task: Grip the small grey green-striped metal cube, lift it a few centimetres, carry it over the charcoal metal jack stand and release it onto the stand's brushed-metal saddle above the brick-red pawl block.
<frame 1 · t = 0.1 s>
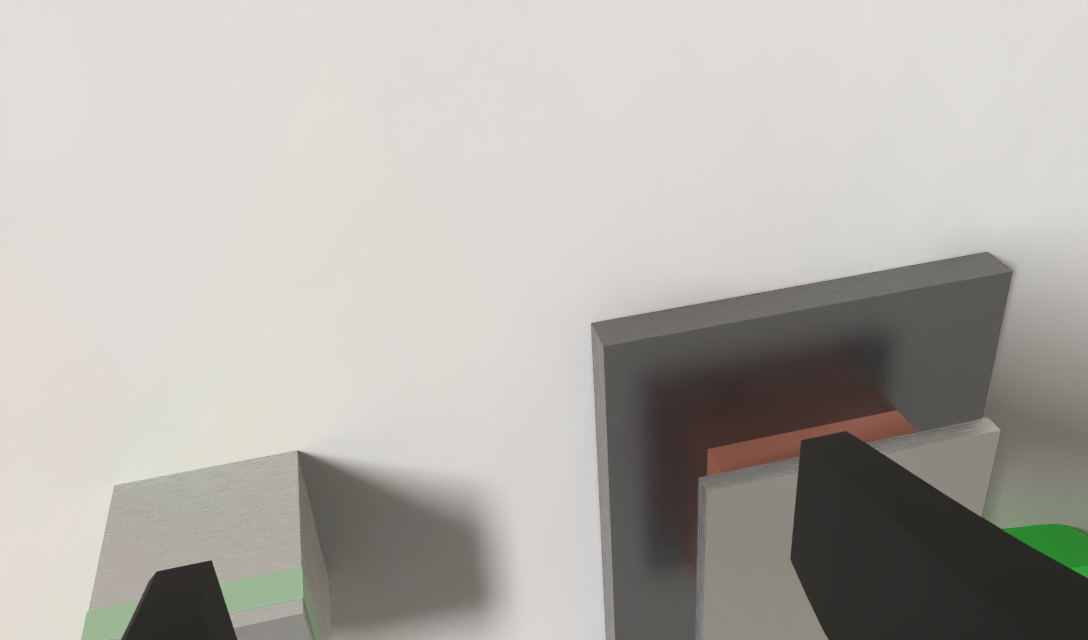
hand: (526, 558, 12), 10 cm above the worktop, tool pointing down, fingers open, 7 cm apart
green-striped metal cube: (227, 532, 24), on the worktop
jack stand: (780, 481, 27), on the worktop
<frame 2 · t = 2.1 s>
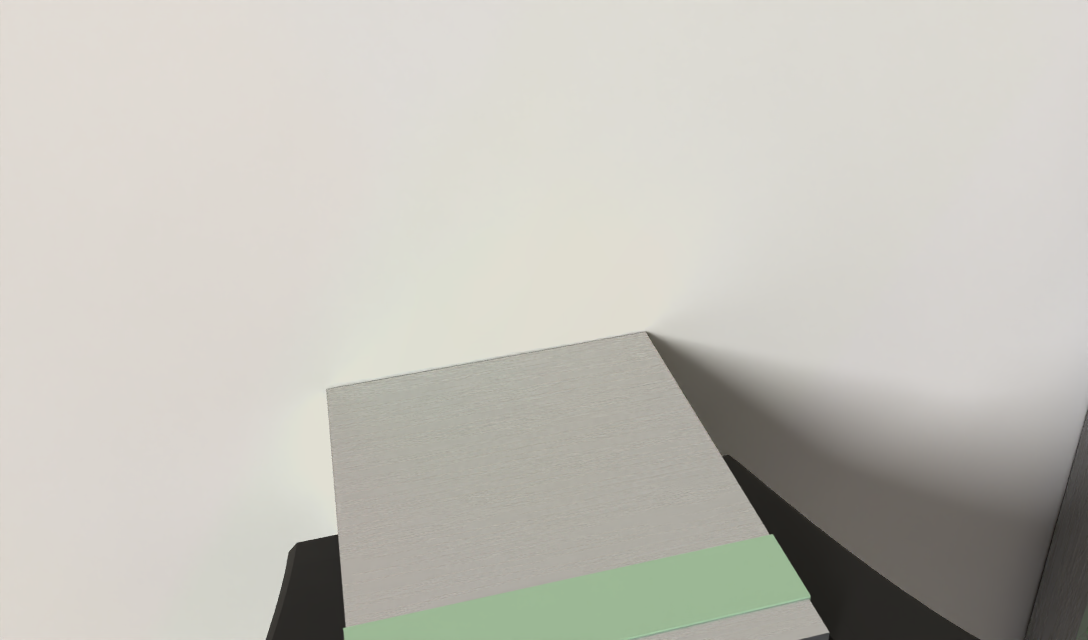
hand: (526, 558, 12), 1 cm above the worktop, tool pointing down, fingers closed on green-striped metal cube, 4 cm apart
green-striped metal cube: (503, 484, 13), on the worktop, touching gripper
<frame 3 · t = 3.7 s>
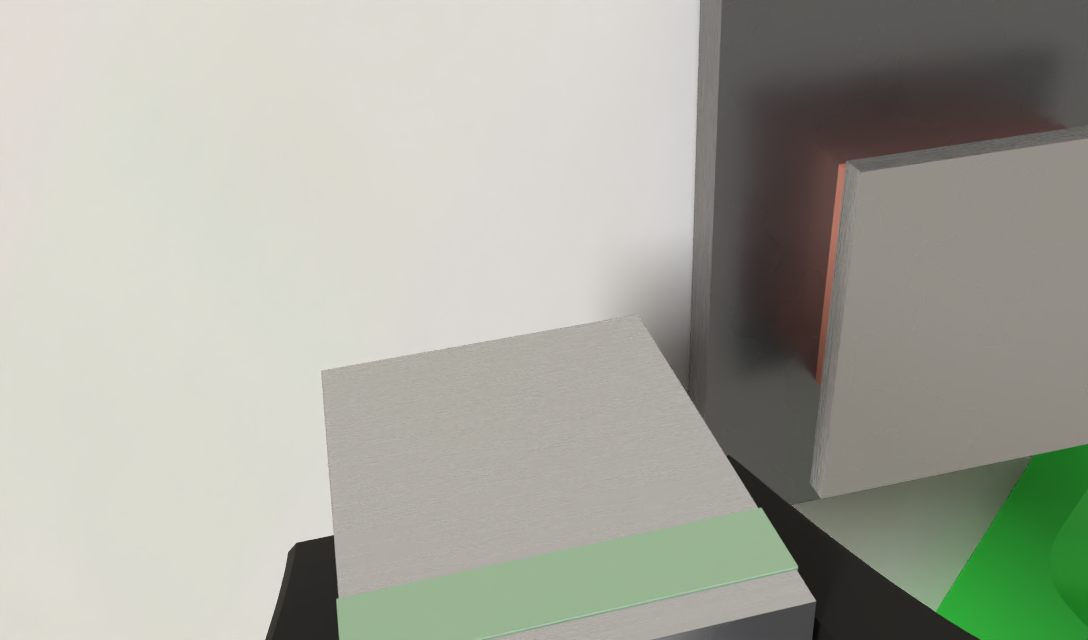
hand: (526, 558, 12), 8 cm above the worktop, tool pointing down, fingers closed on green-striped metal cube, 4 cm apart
green-striped metal cube: (497, 466, 14), point 7 cm above the worktop, touching gripper
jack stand: (912, 239, 22), on the worktop
mechanical part: (1075, 506, 28), on the worktop
when the fingers open (6 cm above the worktop, at t = 5.4 s): green-striped metal cube stays where it is, resting on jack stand.
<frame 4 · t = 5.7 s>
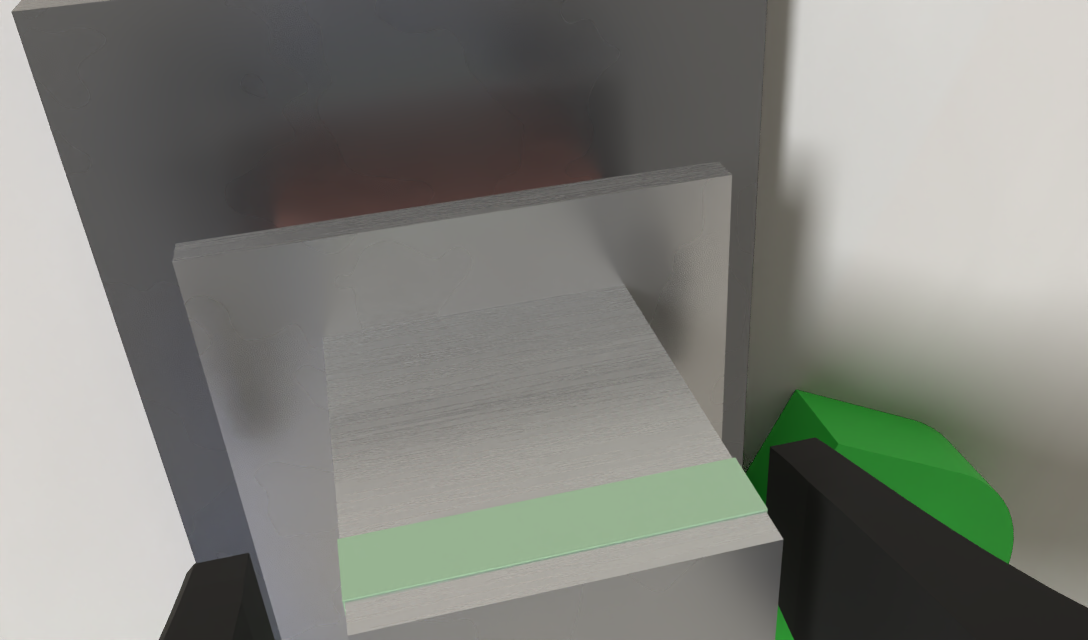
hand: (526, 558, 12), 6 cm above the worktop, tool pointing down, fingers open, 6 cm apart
green-striped metal cube: (491, 431, 14), point 3 cm above the worktop, touching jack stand
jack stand: (453, 317, 17), on the worktop
mechanical part: (766, 612, 24), on the worktop, touching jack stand
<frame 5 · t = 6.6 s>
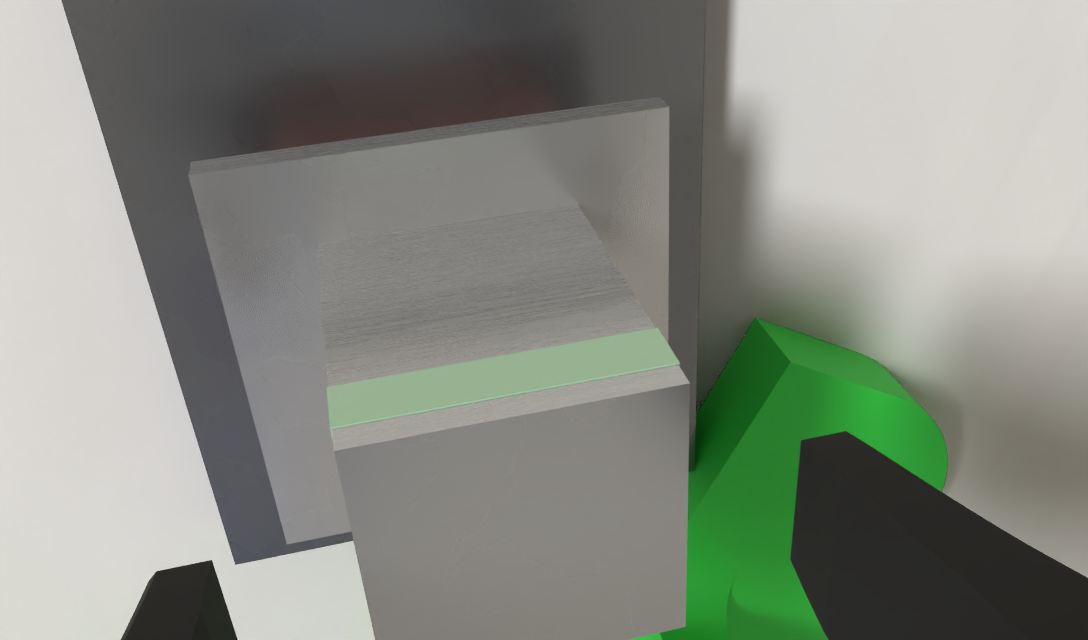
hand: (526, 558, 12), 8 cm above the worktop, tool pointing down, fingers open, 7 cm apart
green-striped metal cube: (463, 335, 16), point 3 cm above the worktop, touching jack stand
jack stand: (434, 247, 19), on the worktop
mechanical part: (723, 534, 26), on the worktop, touching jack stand
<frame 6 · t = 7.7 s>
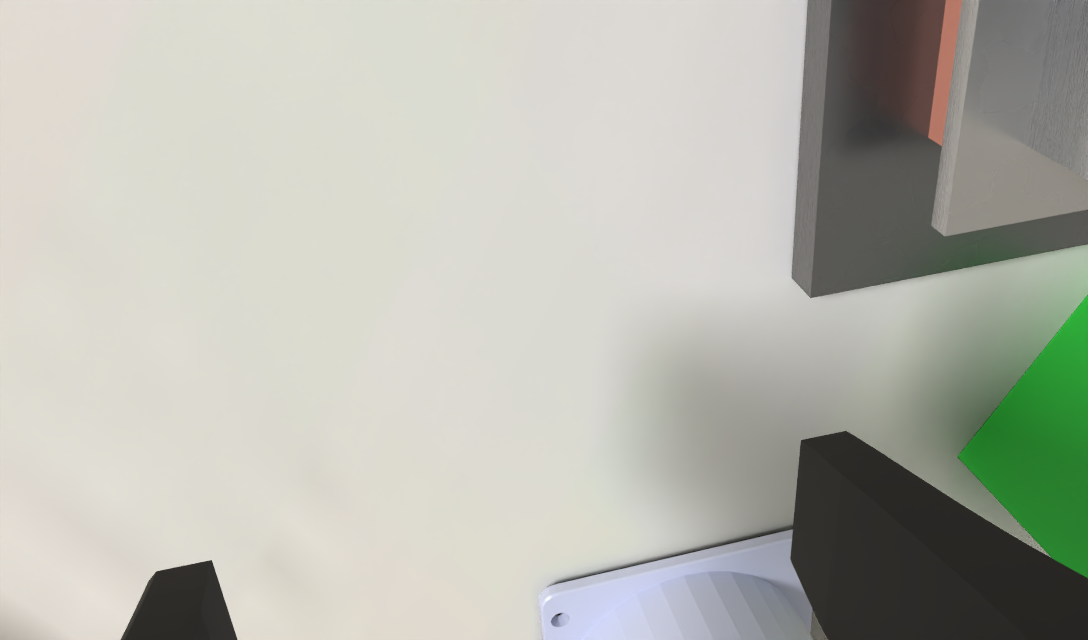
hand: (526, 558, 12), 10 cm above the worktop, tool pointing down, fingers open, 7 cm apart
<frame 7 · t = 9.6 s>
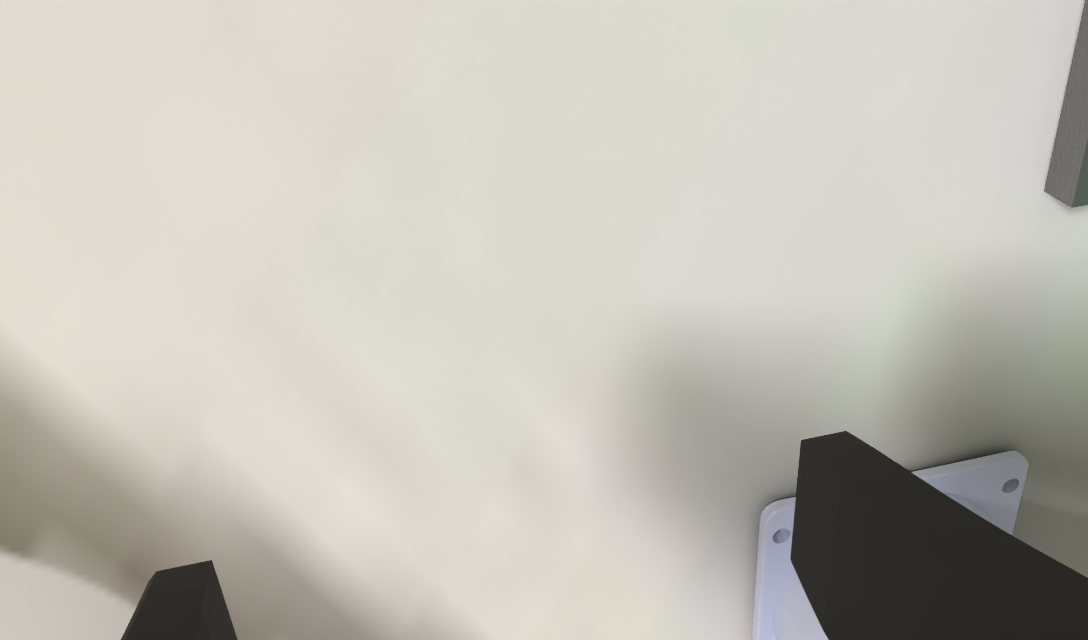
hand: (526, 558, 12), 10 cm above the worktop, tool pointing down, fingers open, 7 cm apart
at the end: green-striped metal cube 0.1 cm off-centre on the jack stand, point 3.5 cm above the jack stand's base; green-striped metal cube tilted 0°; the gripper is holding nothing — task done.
